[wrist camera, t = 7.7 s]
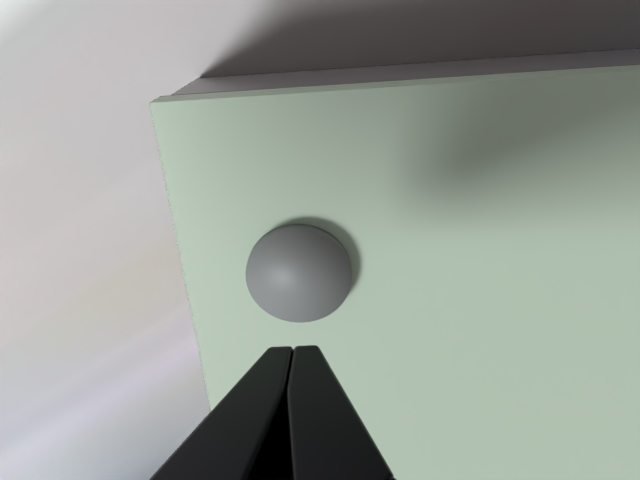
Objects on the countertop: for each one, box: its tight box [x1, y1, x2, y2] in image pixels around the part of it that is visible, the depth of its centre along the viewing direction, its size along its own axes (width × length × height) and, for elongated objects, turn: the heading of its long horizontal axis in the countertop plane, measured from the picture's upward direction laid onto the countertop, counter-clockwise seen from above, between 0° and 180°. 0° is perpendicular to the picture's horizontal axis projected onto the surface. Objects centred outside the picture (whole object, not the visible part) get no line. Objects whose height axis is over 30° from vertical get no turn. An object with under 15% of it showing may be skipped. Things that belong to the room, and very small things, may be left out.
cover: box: [149, 65, 640, 480], centre depth 13 cm, size 12×16×1 cm
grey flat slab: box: [172, 48, 640, 95], centre depth 15 cm, size 12×16×2 cm
